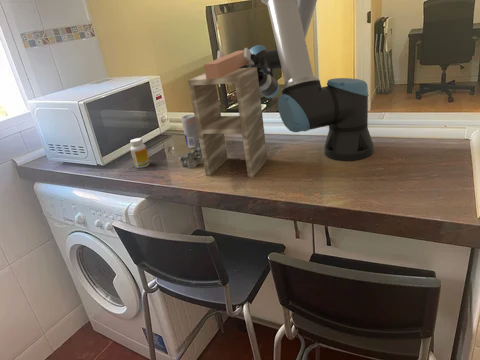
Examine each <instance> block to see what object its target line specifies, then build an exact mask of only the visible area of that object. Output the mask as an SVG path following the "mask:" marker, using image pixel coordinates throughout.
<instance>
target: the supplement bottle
mask: <svg viewBox="0 0 480 360" xmlns="http://www.w3.org/2000/svg"><path fill="white" fill-rule="evenodd" d="M130 145H131V147H130V148H129V149H130V154H131V157H132V160H133V161H132V162H133V164H134V167H135V168H137V169H142V168H146V167H149V165H150V163H151V162H150V158H149V154H148V151H147V146H146V144H144V143H143V139H142V138H141V137H137V138H134V139H133V138H132V139H130Z"/></svg>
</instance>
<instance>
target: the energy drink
mask: <svg viewBox="0 0 480 360" xmlns="http://www.w3.org/2000/svg"><path fill="white" fill-rule="evenodd" d="M181 123H182V129H183V133H184V138H185V143H186V147H187V148H188V149H190V150H191V149H193V150H195V149H196V148H197V147H199V148H200V142H199V137H198V131H197V126H196V121H195V115H194V114H186V115H184V116H181Z"/></svg>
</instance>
